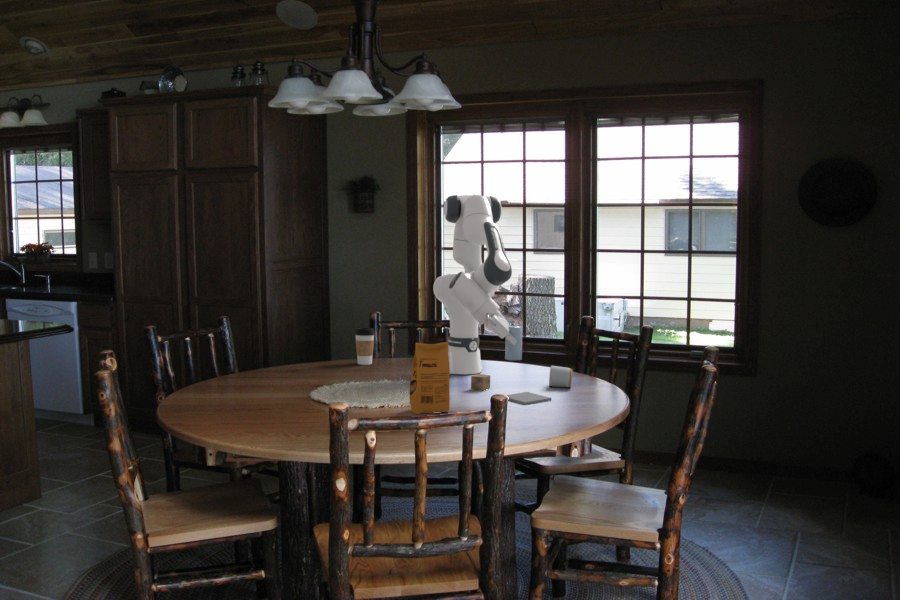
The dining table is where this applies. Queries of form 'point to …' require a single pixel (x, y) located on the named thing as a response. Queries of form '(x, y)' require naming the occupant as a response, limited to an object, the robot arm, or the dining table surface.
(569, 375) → the grey rounded block
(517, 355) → the blue-grey tall cylinder
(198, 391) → the dining table surface
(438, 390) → the coffee package
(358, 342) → the coffee cup
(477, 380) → the walnut block
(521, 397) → the pad
